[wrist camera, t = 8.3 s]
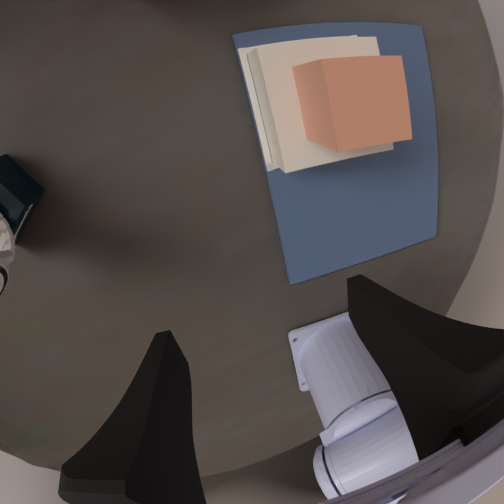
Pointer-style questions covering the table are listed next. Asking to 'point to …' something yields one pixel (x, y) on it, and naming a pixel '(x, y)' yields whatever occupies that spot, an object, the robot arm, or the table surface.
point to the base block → (287, 103)
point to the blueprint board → (354, 166)
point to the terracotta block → (354, 101)
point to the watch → (14, 210)
